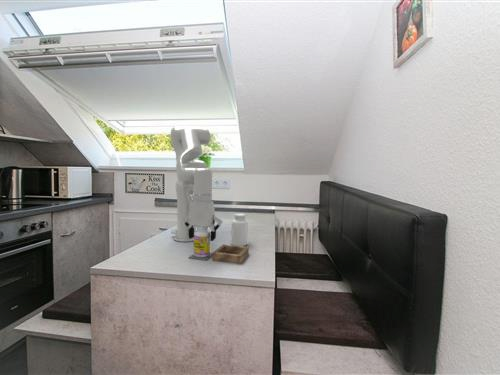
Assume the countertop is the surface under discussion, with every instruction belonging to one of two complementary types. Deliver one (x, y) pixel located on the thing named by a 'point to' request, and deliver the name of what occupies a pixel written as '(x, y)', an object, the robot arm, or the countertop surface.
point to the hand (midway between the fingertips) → (202, 239)
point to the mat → (200, 257)
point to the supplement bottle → (201, 242)
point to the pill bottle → (239, 230)
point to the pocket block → (231, 258)
